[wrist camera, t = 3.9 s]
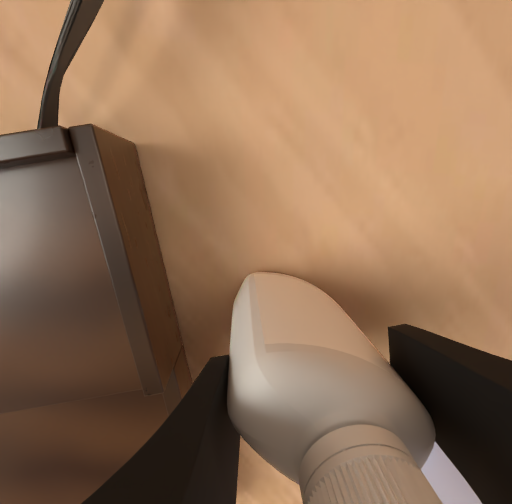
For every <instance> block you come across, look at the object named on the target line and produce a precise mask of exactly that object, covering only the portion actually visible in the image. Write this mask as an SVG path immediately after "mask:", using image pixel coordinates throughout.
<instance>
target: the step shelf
mask: <svg viewBox="0 0 512 504" xmlns="http://www.w3.org/2000/svg"><path fill="white" fill-rule="evenodd" d="M191 386H192V380H191V376H190V372H189V368H188V364H187V360H186V355H185V351H184V347H183V345H182V339H181V335H180V331H179V327H178V323H177V319H176V314H175V310H174V306H173V302H172V298H171V294H170V289H169V285H168V281H167V277H166V273H165V269H164V264H163V260H162V256H161V252H160V248H159V244H158V239H157V235H156V231H155V227H154V223H153V219H152V214H151V210H150V206H149V202H148V198H147V194H146V189H145V185H144V181H143V177H142V173H141V169H140V164H139V160H138V156H137V152H136V148H135V144H134V143H132V142H130V141H128V140H126V139H124V138H121V137H119V136H117V135H115V134H113V133H110V132H108V131H106V130H104V129H102V128H99V127H97V126H95V125H93V124H85V125H79V126H73V127H69V128H65V127H63V126H53V127H47V128H41V129H35V130H28V131H22V132H16V133H9V134H3V135H0V504H81V503H82V502H83V501H85V500H86V499H87V498H88V497H89V496H91V495H92V494H93V493H94V492H95V491H96V490H97V489H98V488H99V487H100V486H102V485H103V484H104V483H105V482H106V481H107V480H108V479H109V478H110V477H111V476H112V475H113V474H114V473H115V472H117V471H118V470H119V469H120V468H121V467H122V466H123V465H124V464H125V463H126V462H127V461H128V460H129V459H130V458H131V457H132V456H133V455H134V454H135V453H136V452H137V451H138V450H139V449H140V448H141V447H142V446H143V445H144V444H145V443H146V442H147V441H148V440H149V439H150V438H151V436H152V435H153V434H154V433H155V432H156V431H157V430H158V429H159V427H160V426H161V425H162V424H163V423H164V421H165V420H166V419H167V418H168V416H169V415H170V414H171V413H172V411H173V410H174V409H175V408H176V406H177V405H178V404H179V403H180V401H181V400H182V398H183V397H184V396H185V394H186V393H187V392H188V390H189V389H190V387H191Z"/></svg>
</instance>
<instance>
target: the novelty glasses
mask: <svg viewBox="0 0 512 504" xmlns="http://www.w3.org/2000/svg"><path fill="white" fill-rule="evenodd" d="M103 1H104V0H71V1H70V5H69V8H68V11H67V14H66V17H65V20H64V23H63V26H62V29H61V32H60V35H59V38H58V41H57V44H56V48H55V51H54V54H53V57H52V60H51V64H50V67H49V71H48V75H47V78H46V82H45V86H44V91H43V97H42V101H41V108H40V114H39V120H38V126H37V129H41V128H47V127H53V126H58V110H59V93H60V87H61V83H62V79H63V75H64V74H65V72H66V70H67V68H68V66H69V65H70V63H71V61H72V59H73V57H74V56H75V54H76V52H77V50H78V48H79V47H80V45H81V43H82V41H83V39H84V37H85V36H86V34H87V32H88V30H89V28H90V27H91V25H92V23H93V21H94V19H95V17H96V15H97V13H98V11H99V9H100V7H101V6H102V4H103Z"/></svg>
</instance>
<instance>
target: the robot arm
mask: <svg viewBox="0 0 512 504" xmlns="http://www.w3.org/2000/svg"><path fill="white" fill-rule="evenodd" d="M388 337H389V352H390V365H391V366H392V367H393V368H394V370H395V371H396V372H397V373H398V374H399V376H400V377H401V378H402V379H403V380H404V382H405V383H406V384H407V385H408V387H409V388H410V389H411V390H412V391H413V393H414V394H415V395H416V396H417V397H418V399H419V400H420V401H421V403H422V404H423V405H424V407H425V408H426V410H427V411H428V413H429V414H430V416H431V418H432V421H433V424H434V427H435V433H436V437H435V442H434V447H433V449H432V451H431V453H430V455H429V457H428V459H427V461H426V462H425V464H424V466H423V467H422V469H421V471H422V472H423V474H424V475H425V477H426V479H427V480H428V482H429V483H430V485H431V486H432V488H433V489H434V491H435V493H436V494H437V496H438V497H439V499H440V500H441V502H442V503H443V504H512V361H511V360H508V359H505V358H502V357H499V356H496V355H492V354H490V353H487V352H484V351H481V350H478V349H475V348H472V347H469V346H467V345H464V344H461V343H458V342H456V341H453V340H450V339H448V338H445V337H442V336H440V335H437V334H434V333H432V332H429V331H426V330H423V329H420V328H417V327H414V326H411V325H407V324H402V325H396V326H390V327H388ZM228 371H229V355H224V356H218V357H212V358H210V360H209V361H208V363H207V364H206V365H205V367H204V368H203V370H202V371H201V373H200V374H199V376H198V377H197V379H196V380H195V382H194V383H193V385H192V386H191V387H190V389H189V390H188V392H187V393H186V394H185V396H184V397H183V398H182V400H181V401H180V403H179V404H178V405H177V406H176V408H175V409H174V410H173V411H172V413H171V414H170V415H169V416H168V418H167V419H166V420H165V421H164V423H163V424H162V425H161V426H160V427H159V429H158V430H157V431H156V432H155V433H154V434H153V435H152V436H151V438H150V439H149V440H148V441H147V442H146V443H145V444H144V445H143V446H142V447H141V448H140V449H139V450H138V451H137V452H136V453H135V454H134V455H133V456H132V457H131V458H130V459H129V460H128V461H127V462H126V463H125V464H124V465H123V466H122V467H121V468H120V469H119V470H118V471H117V472H115V473H114V474H113V475H112V476H111V477H110V478H109V479H108V480H107V481H106V482H105V483H104V484H103V485H102V486H100V487H99V488H98V489H97V490H96V491H95V492H94V493H93V494H92V495H91V496H89V497H88V498H87V499H86V500H85V501H83V502H82V503H81V504H236V491H237V477H238V462H239V447H240V434H239V433H238V432H237V430H236V429H235V427H234V426H233V423H232V421H231V419H230V417H229V414H228V409H227V388H228Z"/></svg>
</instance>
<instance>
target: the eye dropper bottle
mask: <svg viewBox="0 0 512 504" xmlns="http://www.w3.org/2000/svg"><path fill="white" fill-rule="evenodd" d="M227 409H228V414H229V417H230V419H231V421H232V423H233V426H234V427H235V429H236V430H237V432H238V433H239V434H240V435H241V436H242V438H243V439H244V440H245V441H246V442H247V443H248V444H249V445H250V446H251V447H252V448H253V449H254V450H255V451H256V452H257V453H258V454H259V455H260V456H261V457H262V458H263V459H264V460H266V461H267V462H268V463H269V464H270V465H272V466H273V467H274V468H276V469H277V470H278V471H279V472H281V473H282V474H284V475H285V476H287V477H288V478H289V479H291V480H292V481H294V482H296V483H297V484H299V485H300V490H301V495H302V500H303V504H443V503H442V502H441V500H440V499H439V497H438V496H437V494H436V493H435V491H434V489H433V488H432V486H431V485H430V483H429V482H428V480H427V479H426V477H425V475H424V474H423V472H422V471H421V469H422V467H423V466H424V464H425V462H426V461H427V459H428V457H429V455H430V453H431V451H432V449H433V447H434V442H435V437H436V433H435V427H434V424H433V421H432V418H431V416H430V414H429V413H428V411H427V410H426V408H425V407H424V405H423V404H422V403H421V401H420V400H419V399H418V397H417V396H416V395H415V394H414V393H413V391H412V390H411V389H410V388H409V387H408V385H407V384H406V383H405V382H404V380H403V379H402V378H401V377H400V376H399V374H398V373H397V372H396V371H395V370H394V368H393V367H392V366H391V365H390V364H389V363H388V361H387V360H386V359H385V358H384V357H383V356H382V354H381V353H380V352H379V351H378V350H377V349H376V347H375V346H374V345H373V344H372V343H371V341H370V340H369V339H368V338H367V337H366V336H365V334H364V333H363V332H362V331H361V330H360V329H359V328H358V326H357V325H356V324H355V323H354V322H353V321H352V319H351V318H350V317H349V316H348V315H347V314H346V312H345V311H344V310H343V309H342V308H341V307H340V306H339V305H338V304H337V303H336V302H335V301H334V300H333V299H332V298H331V297H330V296H329V295H327V294H326V293H325V292H323V291H322V290H321V289H319V288H318V287H316V286H314V285H312V284H311V283H309V282H306V281H304V280H302V279H299V278H296V277H293V276H290V275H286V274H281V273H273V272H254V273H252V274H249V275H248V276H247V277H246V278H245V279H244V281H243V283H242V285H241V287H240V289H239V291H238V293H237V296H236V298H235V300H234V303H233V312H232V325H231V338H230V353H229V371H228V388H227Z"/></svg>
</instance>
